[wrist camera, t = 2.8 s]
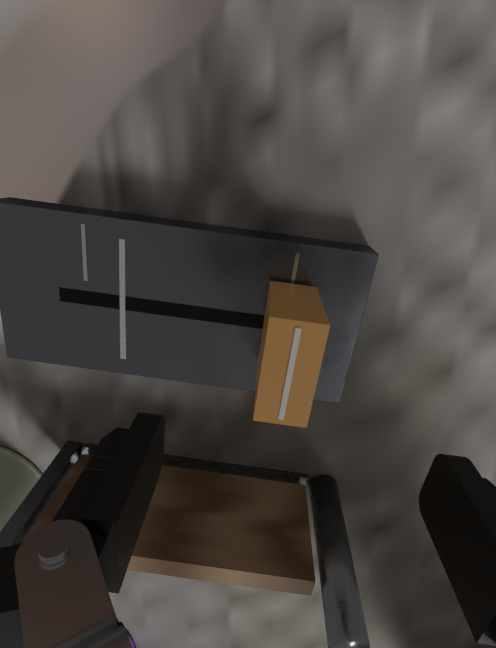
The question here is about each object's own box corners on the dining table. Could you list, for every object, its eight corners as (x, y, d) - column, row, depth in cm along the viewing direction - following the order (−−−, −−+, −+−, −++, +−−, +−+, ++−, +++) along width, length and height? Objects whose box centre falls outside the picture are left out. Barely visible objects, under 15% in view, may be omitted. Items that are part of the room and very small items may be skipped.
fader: (316, 287, 19) (330, 325, 15) (299, 371, 21) (306, 429, 17) (270, 280, 19) (269, 317, 15) (257, 365, 21) (252, 421, 17)
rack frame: (339, 476, 27) (374, 636, 18) (333, 497, 28) (364, 660, 19) (67, 439, 27) (-38, 578, 18) (68, 460, 28) (-31, 604, 19)
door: (308, 472, 26) (319, 567, 20) (302, 497, 27) (311, 595, 21) (80, 440, 26) (21, 525, 20) (82, 466, 27) (26, 555, 21)
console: (369, 246, 21) (379, 254, 19) (334, 385, 24) (339, 403, 22) (10, 197, 21) (-16, 200, 19) (27, 342, 24) (6, 357, 22)
